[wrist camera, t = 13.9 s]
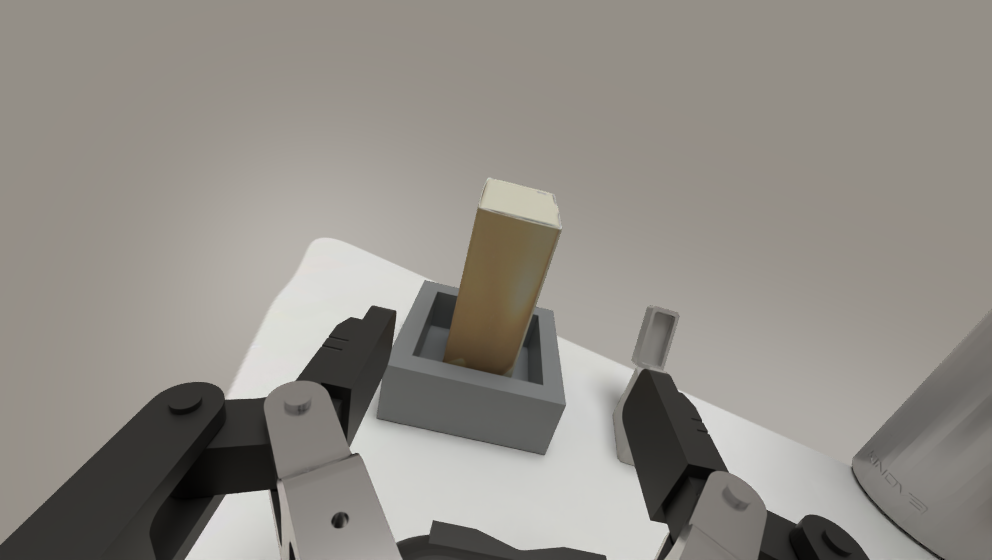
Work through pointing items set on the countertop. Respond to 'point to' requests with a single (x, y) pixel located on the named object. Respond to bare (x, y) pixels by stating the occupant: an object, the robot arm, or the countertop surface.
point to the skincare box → (502, 276)
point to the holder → (472, 380)
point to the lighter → (646, 364)
